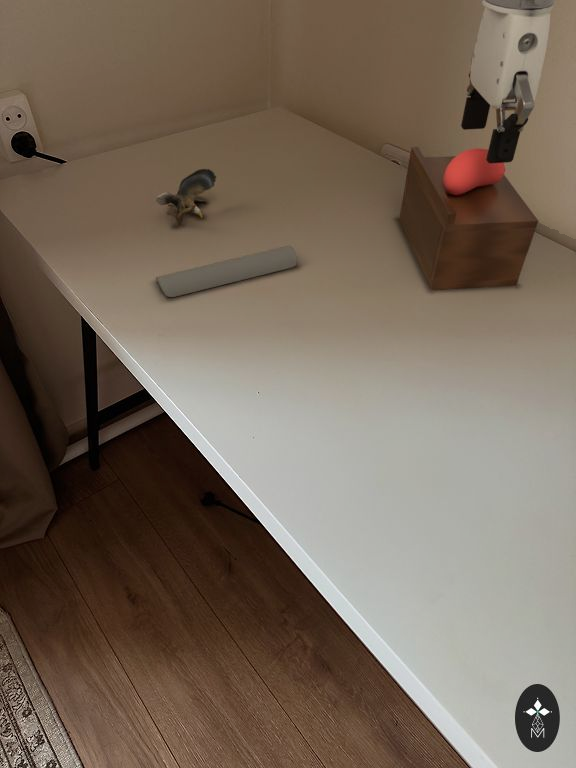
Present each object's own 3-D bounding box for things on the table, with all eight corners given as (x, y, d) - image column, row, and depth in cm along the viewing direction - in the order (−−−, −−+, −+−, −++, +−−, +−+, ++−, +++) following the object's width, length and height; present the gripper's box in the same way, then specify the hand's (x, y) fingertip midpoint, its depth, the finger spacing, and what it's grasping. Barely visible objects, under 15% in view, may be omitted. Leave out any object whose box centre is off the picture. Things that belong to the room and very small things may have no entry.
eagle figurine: (212, 226, 93) (228, 186, 98) (180, 189, 89) (199, 150, 94) (175, 241, 97) (192, 202, 102) (143, 207, 93) (162, 168, 98)
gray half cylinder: (299, 266, 89) (300, 255, 87) (164, 300, 83) (162, 289, 81) (286, 250, 91) (287, 239, 90) (154, 282, 85) (153, 271, 84)
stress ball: (430, 187, 88) (432, 158, 82) (488, 155, 88) (494, 125, 82) (450, 215, 86) (453, 188, 80) (509, 183, 86) (516, 154, 80)
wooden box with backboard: (473, 216, 99) (492, 144, 91) (516, 285, 87) (542, 209, 79) (398, 219, 98) (411, 146, 90) (431, 290, 86) (449, 213, 77)
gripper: (589, 12, 63) (540, 174, 75) (523, -30, 75) (490, 115, 87) (517, 15, 62) (479, 178, 75) (461, -28, 75) (437, 118, 87)
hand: (485, 144), depth 81 cm, fingers open, 9 cm apart
